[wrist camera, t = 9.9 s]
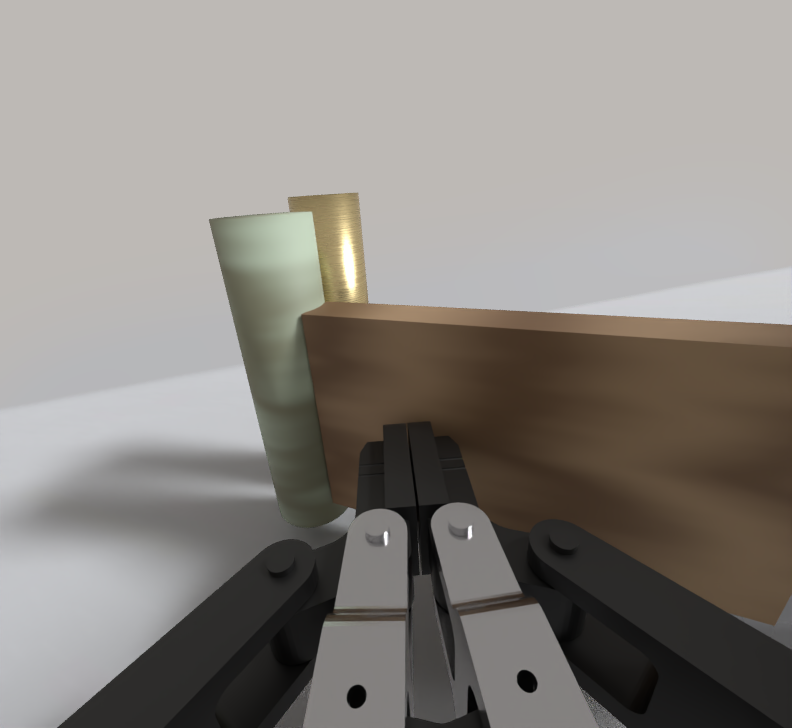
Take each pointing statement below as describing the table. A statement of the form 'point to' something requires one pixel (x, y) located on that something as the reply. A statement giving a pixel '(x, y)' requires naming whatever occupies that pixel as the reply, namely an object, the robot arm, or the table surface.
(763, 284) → the table surface
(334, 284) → the post
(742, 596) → the gate
